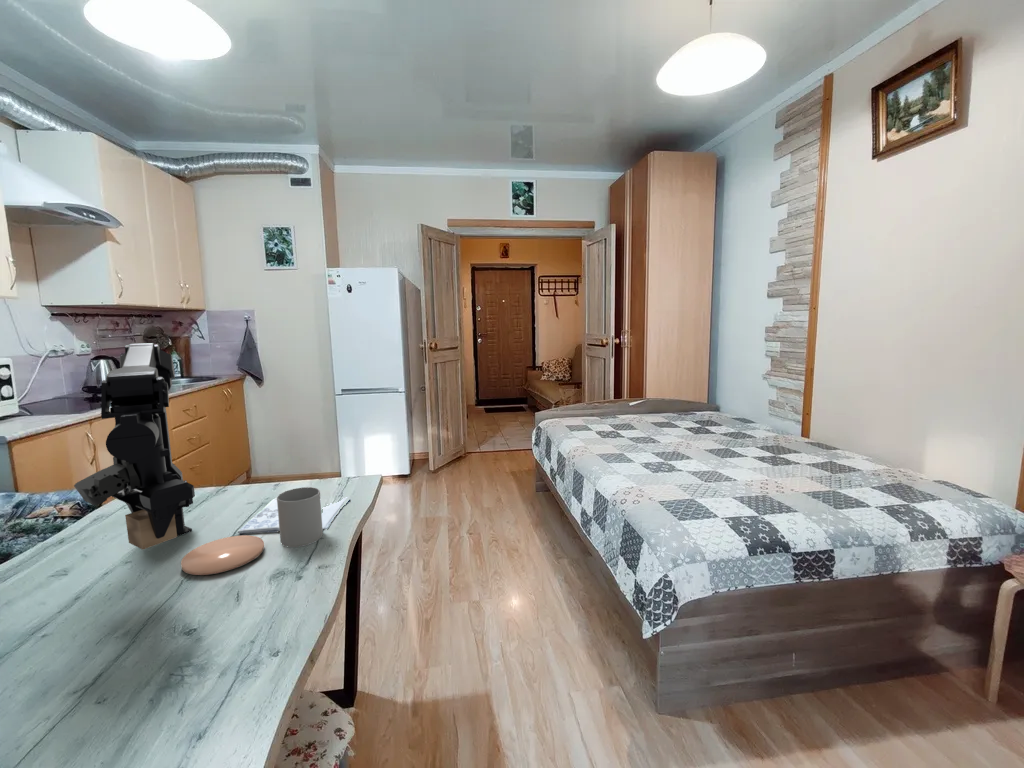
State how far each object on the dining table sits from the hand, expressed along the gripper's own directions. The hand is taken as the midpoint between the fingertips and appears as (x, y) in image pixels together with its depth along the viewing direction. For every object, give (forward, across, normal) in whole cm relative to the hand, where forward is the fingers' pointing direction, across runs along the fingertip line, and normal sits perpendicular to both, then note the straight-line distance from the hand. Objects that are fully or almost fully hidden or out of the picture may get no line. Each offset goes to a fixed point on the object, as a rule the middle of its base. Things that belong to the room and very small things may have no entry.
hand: (152, 534), depth 77 cm
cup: (+11, +4, +25) cm, 28 cm away
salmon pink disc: (+11, -2, +12) cm, 16 cm away
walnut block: (+1, 0, 0) cm, 1 cm away
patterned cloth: (+12, -7, +32) cm, 35 cm away
